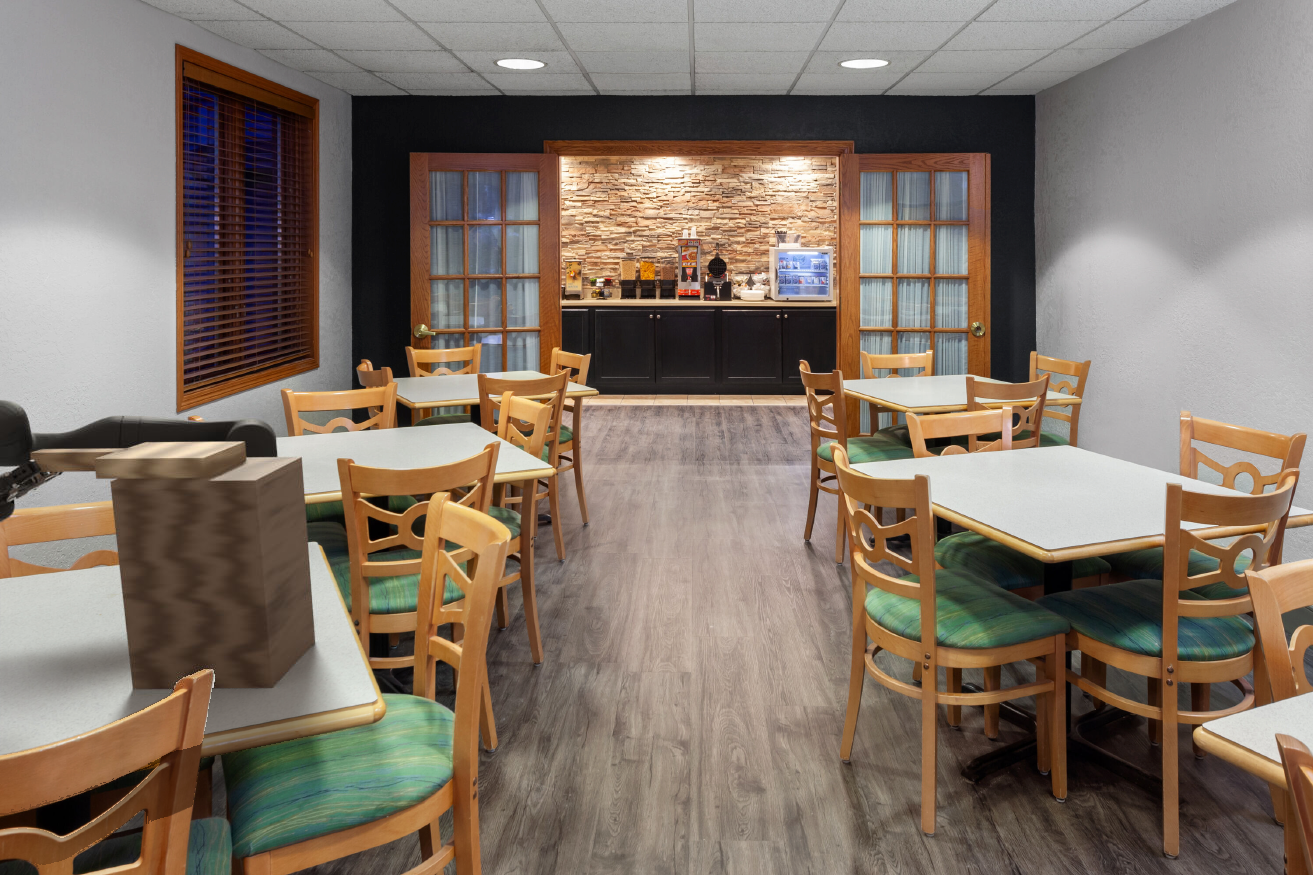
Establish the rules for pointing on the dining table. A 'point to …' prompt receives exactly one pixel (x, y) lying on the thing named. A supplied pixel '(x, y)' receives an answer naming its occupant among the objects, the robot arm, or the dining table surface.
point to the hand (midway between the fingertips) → (55, 459)
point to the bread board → (145, 460)
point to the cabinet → (215, 574)
